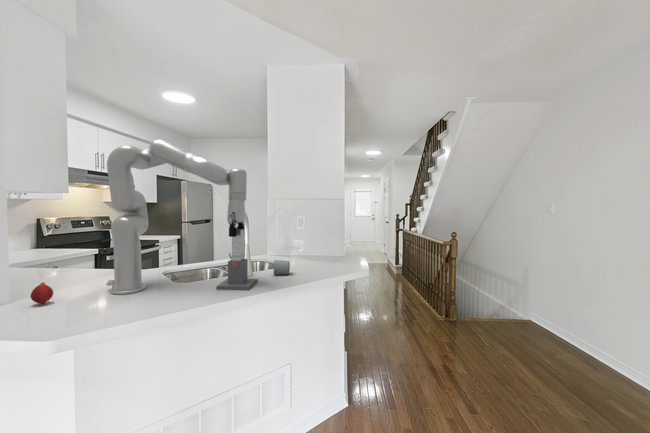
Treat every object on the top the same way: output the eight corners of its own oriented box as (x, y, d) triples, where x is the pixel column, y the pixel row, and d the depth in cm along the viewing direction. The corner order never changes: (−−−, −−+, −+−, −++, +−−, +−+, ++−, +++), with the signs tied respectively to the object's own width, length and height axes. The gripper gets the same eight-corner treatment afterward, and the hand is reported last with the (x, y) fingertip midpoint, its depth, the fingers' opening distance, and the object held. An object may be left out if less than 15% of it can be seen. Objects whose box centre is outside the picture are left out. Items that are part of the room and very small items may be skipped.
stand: (216, 289, 127) (216, 262, 126) (228, 281, 141) (228, 257, 140) (248, 290, 126) (248, 263, 125) (257, 281, 140) (257, 257, 139)
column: (231, 270, 131) (231, 229, 130) (235, 268, 135) (234, 229, 134) (240, 270, 131) (240, 230, 130) (244, 268, 135) (244, 229, 134)
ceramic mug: (289, 275, 152) (290, 261, 152) (273, 276, 150) (273, 261, 150) (288, 271, 163) (288, 257, 162) (272, 272, 161) (272, 258, 161)
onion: (34, 308, 103) (33, 285, 102) (28, 305, 106) (28, 282, 105) (55, 303, 107) (55, 281, 107) (50, 300, 111) (49, 279, 110)
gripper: (236, 197, 140) (235, 233, 141) (221, 196, 123) (220, 237, 124) (251, 198, 140) (250, 234, 141) (239, 196, 123) (238, 237, 123)
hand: (236, 235), depth 132 cm, fingers open, 9 cm apart
